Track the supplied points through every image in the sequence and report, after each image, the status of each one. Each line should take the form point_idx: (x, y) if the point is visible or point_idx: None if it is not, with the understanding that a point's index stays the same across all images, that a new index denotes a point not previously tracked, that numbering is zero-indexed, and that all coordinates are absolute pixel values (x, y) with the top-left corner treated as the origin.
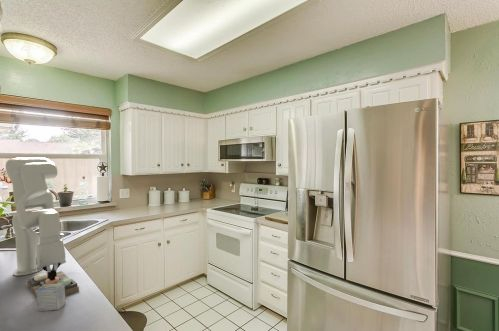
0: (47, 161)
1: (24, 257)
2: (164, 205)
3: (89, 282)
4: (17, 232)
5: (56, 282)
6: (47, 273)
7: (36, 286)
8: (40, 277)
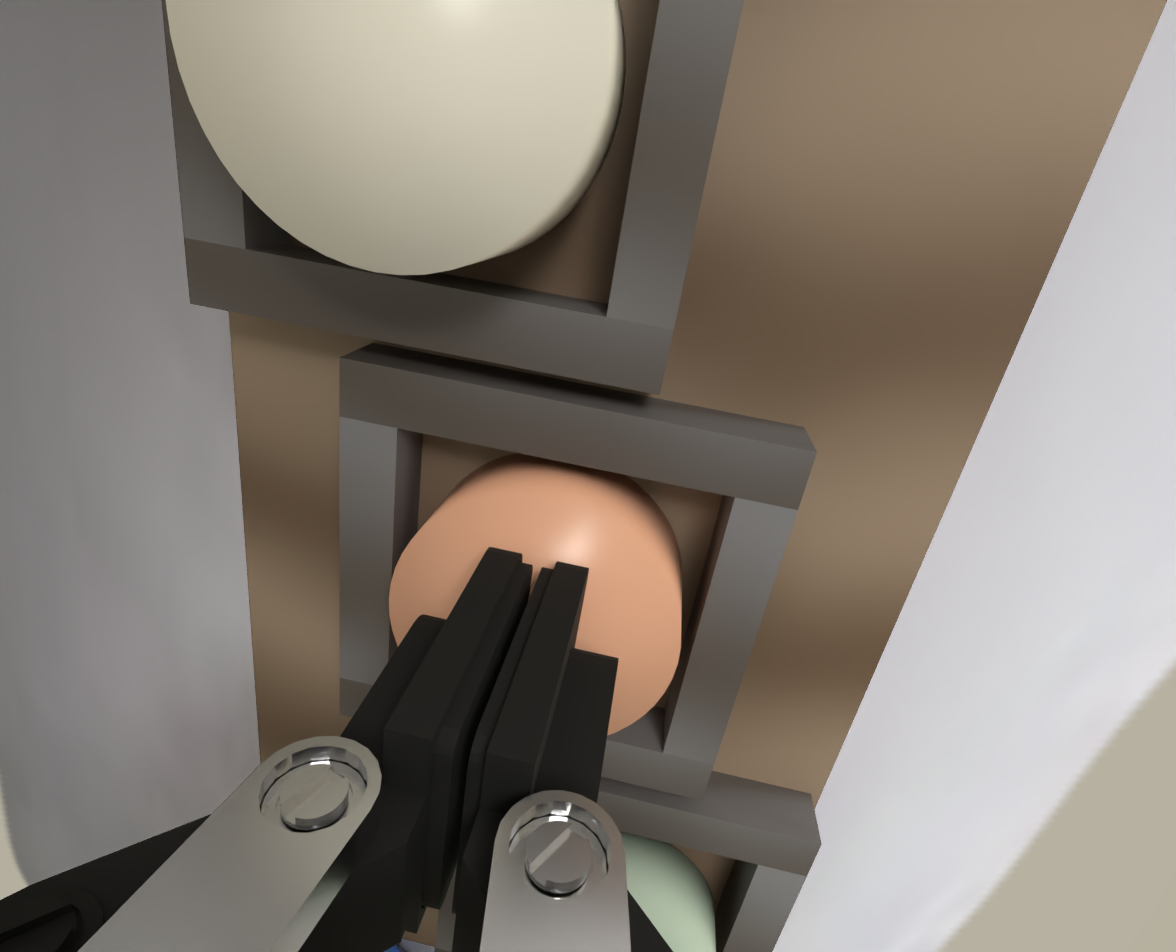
0: None
1: None
2: None
3: (988, 876)
4: None
5: None
6: (360, 717)
7: (302, 373)
8: (335, 258)
